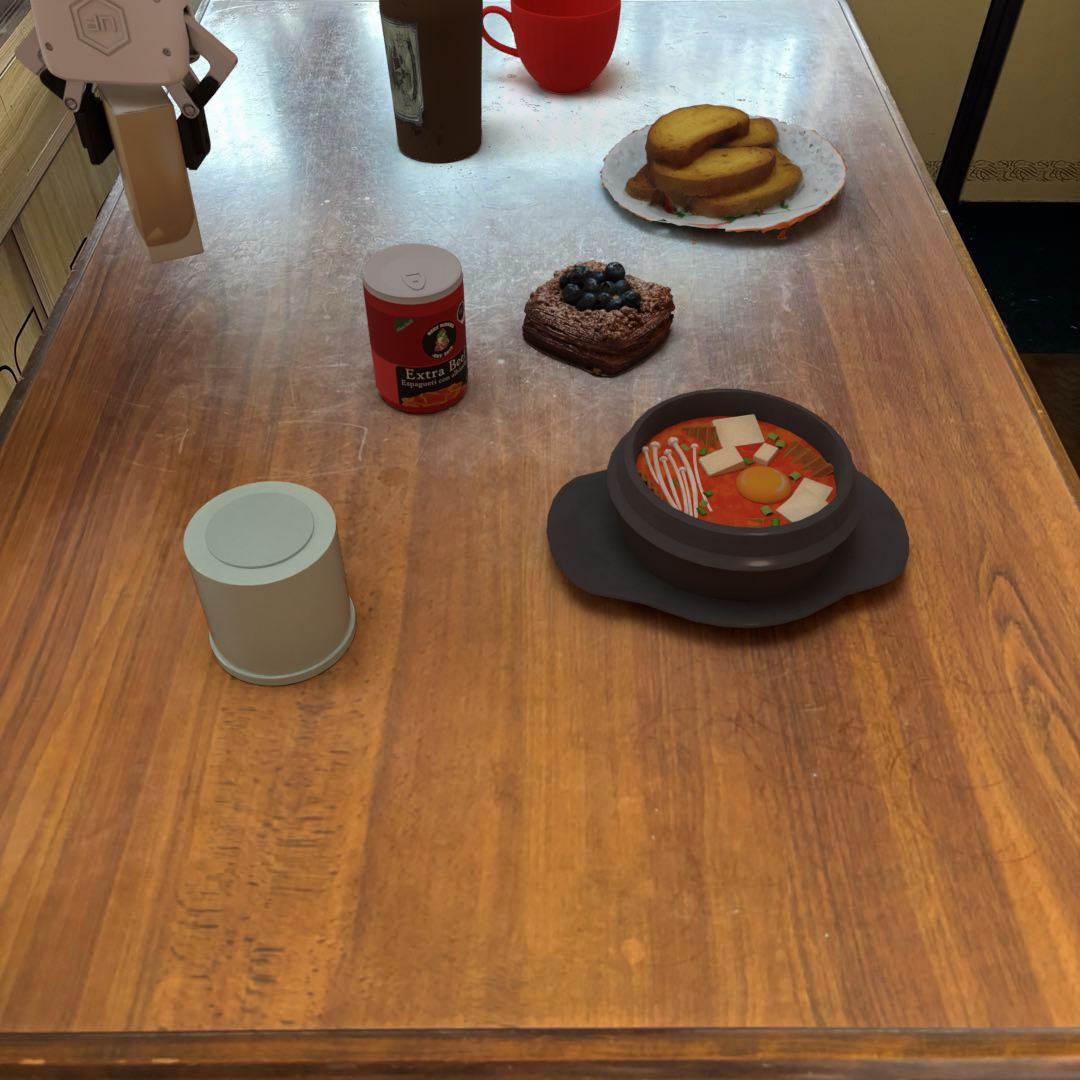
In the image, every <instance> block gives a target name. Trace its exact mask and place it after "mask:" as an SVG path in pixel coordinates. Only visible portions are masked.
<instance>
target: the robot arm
mask: <svg viewBox="0 0 1080 1080" xmlns="http://www.w3.org/2000/svg"><path fill="white" fill-rule="evenodd" d="M29 2H30V9H31V13H32V18H33V22H34V25H33V26H32V27H31V29H30V30H29V31H28V33H27V34H26V35H25V37H24V38H23V39H22V40H21V42H20V43H19V44H18V45H17V46H16V48H15V49H14V56H15V58H16V60H18V61H19V63H21V64H22V65H23V66H25V68H26V69H28V70H29V71H30V72H31V73H32V74H33V75H34V76H37V77H38V78H39V81H40V83H41V84H42V85H43V86H44V87H46V88H47V89H48V90H49V91H50V92H51V93H53V94H54V95H55V96H56V97H57V98H59V99H60V100H61V101H62V105H63V107H64V108H65V109H66V111H69V112H70V113H73V117H74V120H75V124H76V128H77V131H78V135H79V138H80V143H81V146H82V147H83V149H85V150H87V154H88V159H89V162H90V164H91V166H101V164H103V163H104V162H105V161H106V160H107V158H108V157H109V156H110V155H111V153H112V152H113V151H114V147H113V143H112V139H111V135H110V131H109V127H108V123H107V119H106V115H105V111H104V107H103V103H102V99H101V96H96V94H95V93H94V92H95V87H96V84H98V83H100V84H119V85H140V86H162V87H165V89H166V91H167V92H168V94H169V95H170V97H171V98H172V101H174V103H175V104H176V106H177V108H179V110H180V111H179V112H180V114H179V115H178V116H177V117H176V119H177V125H178V130H179V135H180V140H181V145H182V150H183V155H184V160H185V165H186V168H187V170H189V171H198V169H199V168H200V166H201V165H202V164H203V162H204V160H205V159H206V158H207V156H208V155H209V154H210V152H211V149H212V142H211V137H210V131H209V127H208V126H209V125H208V121H207V116H206V111H205V107H206V105H208V103H209V102H210V101H211V100H212V99H213V97H214V96H215V95H216V94H217V92H218V91H219V89H221V86H222V85H223V84H224V82H225V81H226V80H227V78H228V77H229V76H230V74H231V73H232V72H233V70H234V69H235V68H236V66H237V65H238V63H239V58H238V55H236V53H234V52H233V51H232V50H231V49H230V48H229V47H227V46H226V45H225V44H224V43H223V42H222V41H221V40H219V39H218V38H217V37H216V36H215V35H213V33H211V32H210V31H209V30H207V28H205V27H204V26H203V25H202V24H201V23H200V22H198V21H197V20H196V17H195V12H194V8H193V5H192V0H29ZM201 57H202V58H203V59H205V60H206V62H207V63H208V64H209V70H208V71H207V73H205V75H204V77H203V78H202V79H201V80H200V78H199V77H198V76H197V74H196V72H195V71H194V70H193V67H192V66H191V65H192V64H194V63H196V62H197V61H199V59H200V58H201Z"/></svg>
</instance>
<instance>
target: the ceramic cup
mask: <svg viewBox="0 0 1080 1080" xmlns="http://www.w3.org/2000/svg"><path fill="white" fill-rule="evenodd" d="M509 3H510V11H509V10H508V9H506V8H504V7H502V6H498V5H488V6H485V7H483V20H484V19H485V17H486V16H487V15H489V14H497V15H500V16H502V17H503V18H504V20H506V21H507V23H508V25H509V27H510V29H511V32H512V33H513V39H514V44H515V47H511V46H509V45H506V44H504V43H502V42H499V41H498V40H496V39H495V38H493V37H492V36H491V35H490V34H489V32H488V31H487V29H486V28H485V25H484V23H483V29H482V39H483V41H485V42H486V43H487V44H488V45H489V46H490V47H492V48H493V49H495V50H497V51H499V52H502V53H504V54H506V55H509V56H512V57H515V58H519V59H520V62H521V63H522V65H523V67H524V69H525V70H526V72H527V73H528V74H529V76H530V77H531V78H532V80H534V82H536V84H537V85H538V87H539V88H540V89H542V90H543V91H546V92H548V93H552V94H557V95H558V94H559V95H572V94H578V93H581V92H584V91H586V90H588V89H589V88H590V87H591V86H592V84H593V83H594V82H595V81H596V80H597V79H598V78H599V76H600V75H601V74H602V73H603V72H604V70H605V69H606V67H607V66H608V64H609V62H610V60H611V58H612V55H613V52H614V49H615V46H616V42H617V39H618V32H619V28H620V27H619V26H620V20H621V19H620V17H621V11H622V0H510V2H509Z"/></svg>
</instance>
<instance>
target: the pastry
mask: <svg viewBox="0 0 1080 1080" xmlns="http://www.w3.org/2000/svg"><path fill="white" fill-rule="evenodd" d="M626 273H627V271H626V269H625V267H624V265H622V263H620V262H618V261H611V262H609V263H608V264H607V263H604V262H601V261H596V260H595V259H591V260H587V261H584V262H582V261H578V262H576V263H575V264H574V265H572V264H571V265H569V266H566V268H562V269H561V270H560V271H559V270H554V272H553V275H552V276H553V278H552V277H551V278H550V279H549V280H548V281H545V283H543V284H541V285H539V286H537V287H536V289H535V291H532V292H531V293H530V294H529V299H528V300H527V301H526V302H525V305H524V308H523V312H524V315H525V316H524V317H523V325H522V326H521V331H522V334H521V335H522V337H523V340H524V342H525V343H527V344H528V345H529V346H531V347H532V348H533V349H535V350H536V351H538V352H540V353H542V354H544V355H545V356H548V357H550V358H552V359H554V360H556V361H559V362H562V363H563V364H566V365H569V366H573V367H576V368H579V369H581V370H584V371H586V372H588V373H589V374H595V375H600V376H602V377H616V376H619V375H621V374H624V373H625V372H628V371H630V370H632V369H634V368H636V367H638V366H639V365H641V364H643V363H644V362H645V361H646V360H648V359H650V358H651V357H652V356H654V355H655V354H657V352H659V351H660V350H661V349H662V348H663V347H664V346H665V344H666V342H667V341H668V338H669V337H670V335H671V334H670V333H671V331H672V330H671V327H672V324H673V322H674V318H675V313H673V312H674V311H675V310H676V305H675V303H674V302H675V301H674V295H673V294H672V293H671V292H672V288H671V287H669V285H668V286H663V285H662V284H659V283H656V282H652V281H645V280H643V279H641V278H639V277H637V276H633V275H632V274H626Z"/></svg>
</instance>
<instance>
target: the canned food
mask: <svg viewBox="0 0 1080 1080" xmlns="http://www.w3.org/2000/svg"><path fill="white" fill-rule="evenodd" d="M462 267H463V266H462V263H461V261H460V259H459V258H458V257H457V256H456V255H455V254H454V253H453V252H451V251H449V250H447V249H445V248H443V247H441V246H440V247H439V246H438V245H433V244H427V243H402V244H397V245H392V246H388V247H386V248H383V249H381V250H378V251H377V252H375V253H373V254H372V255H370V257H369V258H368V259H367V260H366V261H365V262H364V264H363V266H362V271H361V274H362V277H361V279H362V288H363V289H362V291H363V297H364V307H365V315H366V321H367V329H368V336H369V343H370V345H369V346H370V352H371V358H372V359H371V360H372V367H373V375H374V381H375V386H376V389H377V390H378V393H379V394H380V396H381V398H382V399H383V400H384V401H385V403H387V404H388V405H389V406H391V407H392V408H394V409H397V410H398V411H403V412H405V413H410V414H411V413H412V414H427V413H428V414H429V413H435V412H438V411H442V410H444V409H447V408H449V407H451V406H452V405H454V404H456V403H457V402H458V401H459V400H460V399H461V398H462V396H463V395H464V394H465V390H466V388H467V384H468V381H469V367H468V345H467V344H468V343H467V325H466V306H465V303H466V302H465V286H464V285H465V283H464V272H463V268H462Z"/></svg>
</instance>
